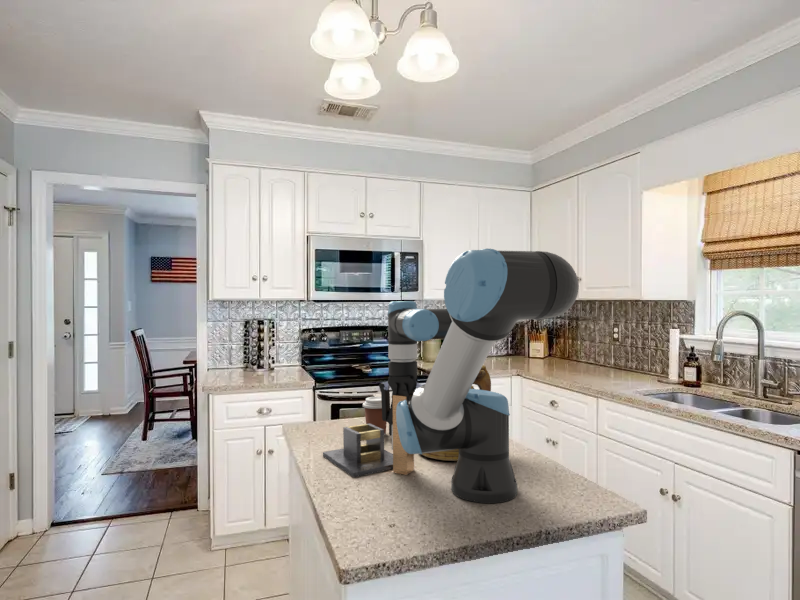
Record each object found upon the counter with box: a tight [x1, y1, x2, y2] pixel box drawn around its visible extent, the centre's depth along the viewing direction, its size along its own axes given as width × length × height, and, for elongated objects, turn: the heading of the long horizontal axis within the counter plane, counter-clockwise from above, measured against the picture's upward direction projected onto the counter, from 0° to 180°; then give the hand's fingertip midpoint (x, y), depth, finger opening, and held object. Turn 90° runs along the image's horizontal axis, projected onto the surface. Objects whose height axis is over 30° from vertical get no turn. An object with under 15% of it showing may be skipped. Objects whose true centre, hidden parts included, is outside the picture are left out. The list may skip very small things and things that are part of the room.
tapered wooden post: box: [392, 395, 415, 476], centre depth 125 cm, size 4×4×20 cm
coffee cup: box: [362, 396, 388, 436], centre depth 161 cm, size 9×9×12 cm
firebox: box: [322, 423, 393, 478], centre depth 134 cm, size 20×16×9 cm
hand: (403, 449), depth 126 cm, fingers closed on tapered wooden post, 4 cm apart
